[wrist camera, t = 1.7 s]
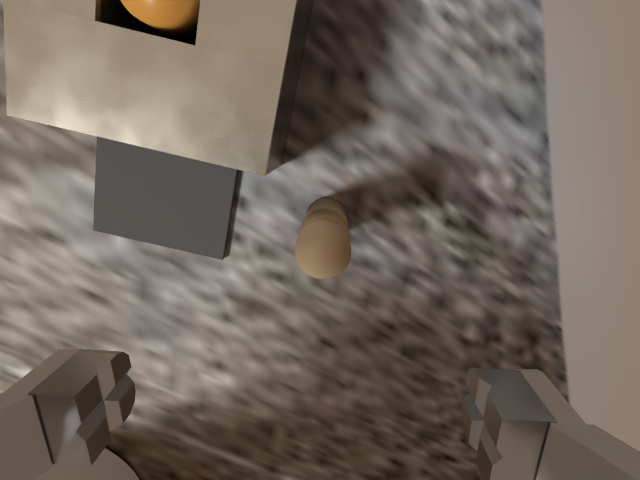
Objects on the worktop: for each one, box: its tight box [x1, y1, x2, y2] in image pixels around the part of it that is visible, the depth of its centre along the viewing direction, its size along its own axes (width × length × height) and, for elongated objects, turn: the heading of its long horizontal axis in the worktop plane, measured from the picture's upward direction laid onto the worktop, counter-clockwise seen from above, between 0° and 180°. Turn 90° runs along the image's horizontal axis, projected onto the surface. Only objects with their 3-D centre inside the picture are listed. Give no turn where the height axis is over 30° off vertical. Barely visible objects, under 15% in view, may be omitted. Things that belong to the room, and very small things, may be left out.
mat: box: [93, 136, 238, 260], centre depth 26 cm, size 8×10×1 cm
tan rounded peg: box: [295, 198, 351, 279], centre depth 23 cm, size 3×3×8 cm
